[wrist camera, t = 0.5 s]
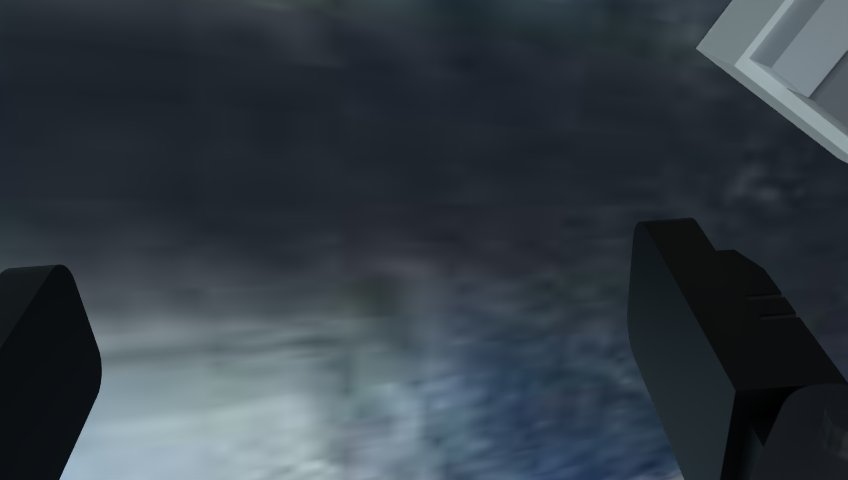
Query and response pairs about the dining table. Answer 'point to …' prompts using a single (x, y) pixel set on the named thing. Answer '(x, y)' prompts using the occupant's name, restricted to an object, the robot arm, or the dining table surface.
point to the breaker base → (733, 63)
